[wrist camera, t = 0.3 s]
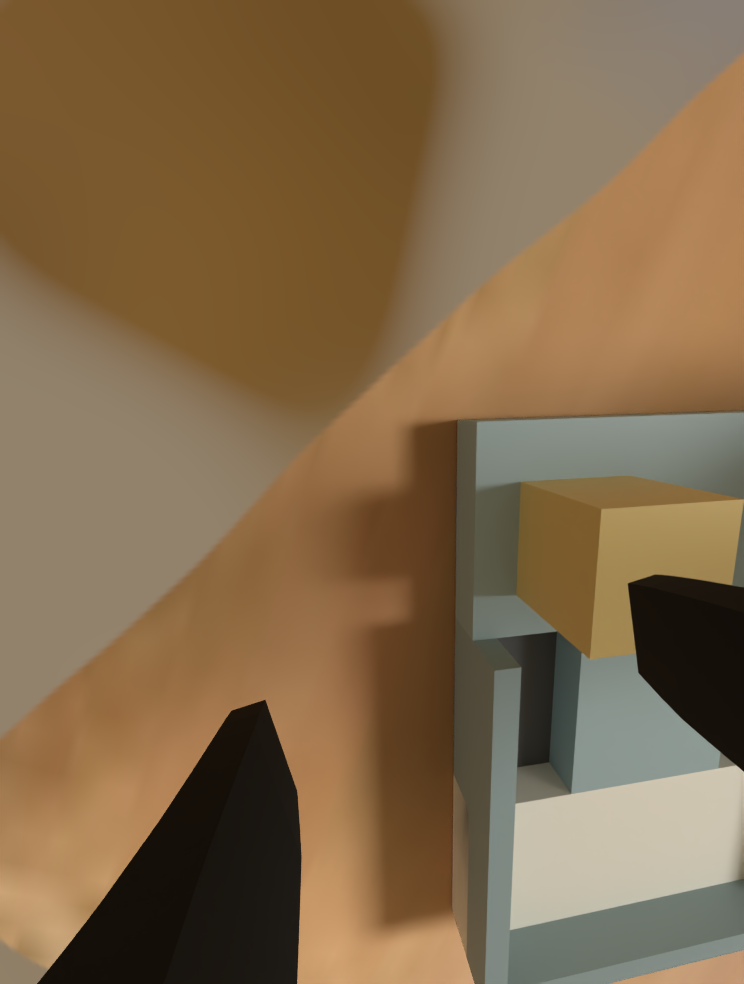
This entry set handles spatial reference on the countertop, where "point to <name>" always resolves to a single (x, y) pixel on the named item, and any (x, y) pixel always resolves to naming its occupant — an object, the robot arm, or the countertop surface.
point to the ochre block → (615, 550)
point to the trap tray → (581, 735)
